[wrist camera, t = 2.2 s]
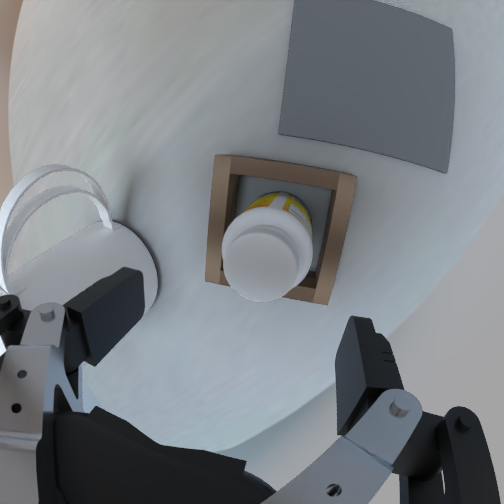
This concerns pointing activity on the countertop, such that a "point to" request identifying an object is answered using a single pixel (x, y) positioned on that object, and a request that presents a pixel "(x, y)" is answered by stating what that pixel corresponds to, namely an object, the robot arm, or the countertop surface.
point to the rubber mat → (370, 80)
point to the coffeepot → (69, 250)
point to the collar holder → (340, 183)
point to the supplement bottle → (268, 247)
